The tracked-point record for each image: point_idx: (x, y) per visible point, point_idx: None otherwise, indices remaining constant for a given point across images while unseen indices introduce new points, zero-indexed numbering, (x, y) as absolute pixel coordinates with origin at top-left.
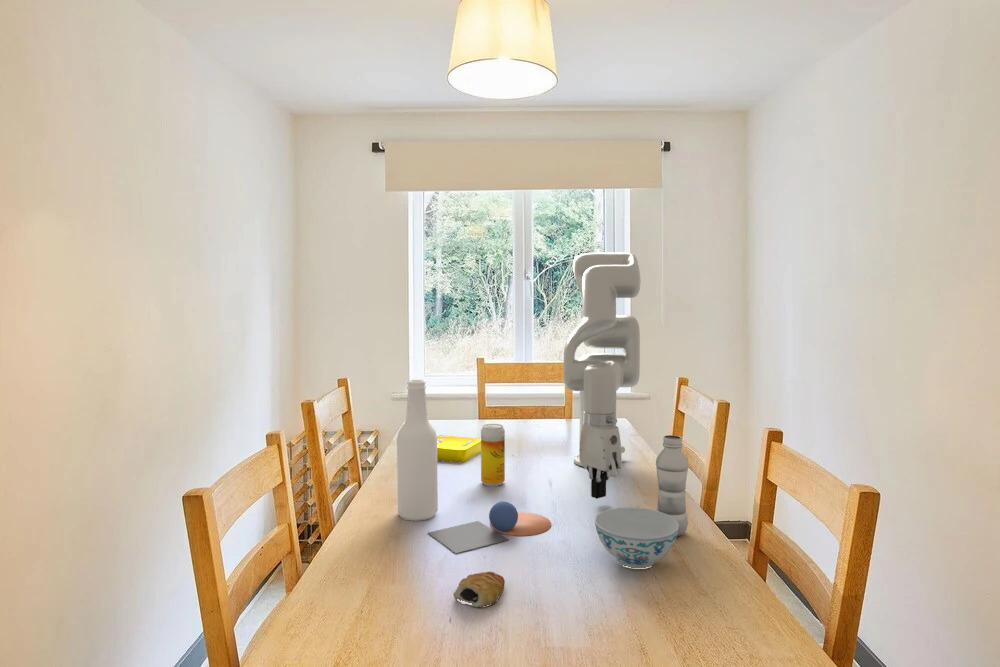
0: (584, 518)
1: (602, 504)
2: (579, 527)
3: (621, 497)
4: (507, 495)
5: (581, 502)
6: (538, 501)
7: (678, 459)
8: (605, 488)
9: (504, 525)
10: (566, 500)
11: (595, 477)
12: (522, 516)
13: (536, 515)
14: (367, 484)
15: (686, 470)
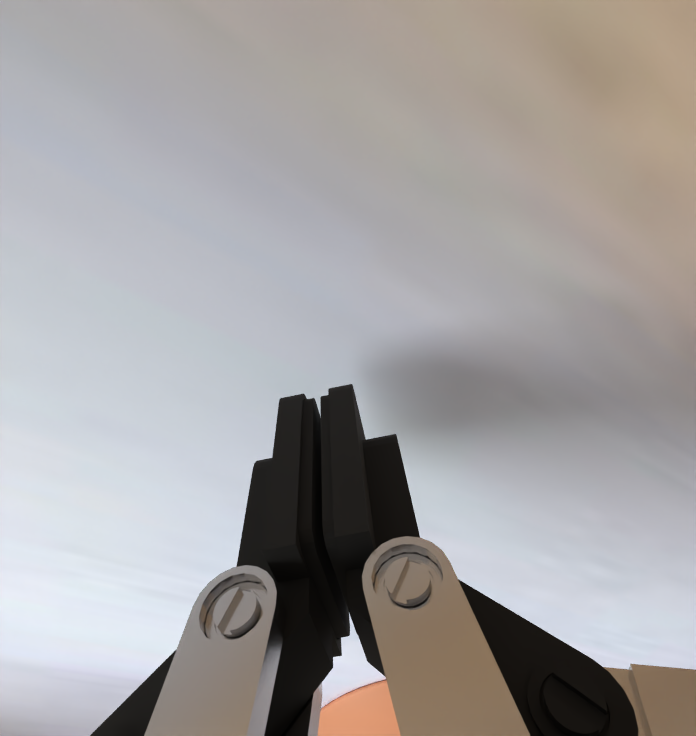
0: (520, 558)
1: (343, 367)
2: (604, 608)
3: (195, 48)
4: (38, 714)
5: (244, 479)
6: (163, 646)
7: None
8: (402, 471)
9: None
10: (176, 539)
11: (327, 668)
12: (363, 726)
13: (377, 695)
14: None
15: None
